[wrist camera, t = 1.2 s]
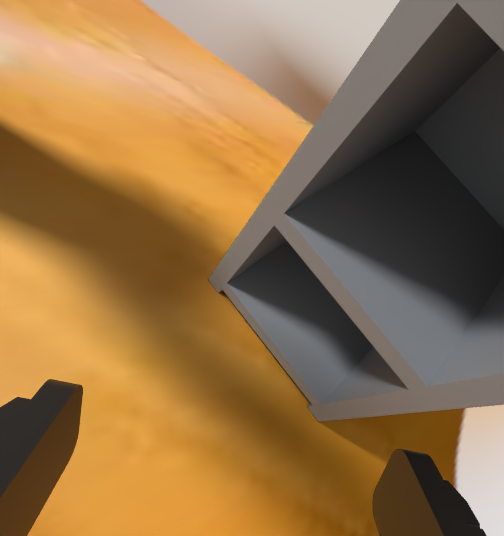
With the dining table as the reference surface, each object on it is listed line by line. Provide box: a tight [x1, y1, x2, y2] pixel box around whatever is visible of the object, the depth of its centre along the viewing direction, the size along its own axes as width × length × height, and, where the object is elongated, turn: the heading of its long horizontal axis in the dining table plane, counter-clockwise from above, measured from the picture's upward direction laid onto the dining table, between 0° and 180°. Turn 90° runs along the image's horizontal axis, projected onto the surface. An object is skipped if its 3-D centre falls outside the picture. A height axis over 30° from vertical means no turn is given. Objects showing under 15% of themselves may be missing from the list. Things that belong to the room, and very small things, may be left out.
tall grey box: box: [208, 0, 504, 422], centre depth 29 cm, size 18×20×32 cm
